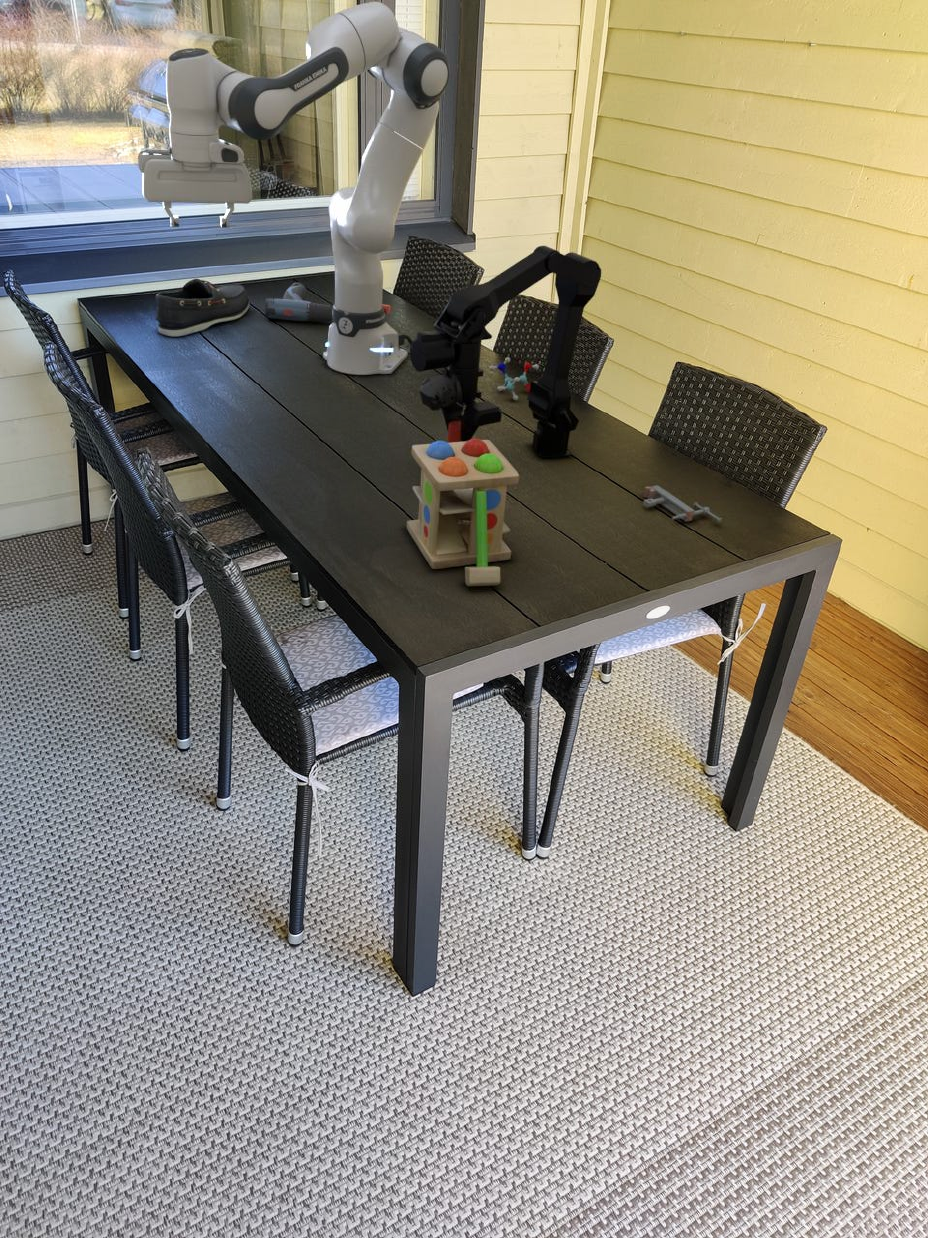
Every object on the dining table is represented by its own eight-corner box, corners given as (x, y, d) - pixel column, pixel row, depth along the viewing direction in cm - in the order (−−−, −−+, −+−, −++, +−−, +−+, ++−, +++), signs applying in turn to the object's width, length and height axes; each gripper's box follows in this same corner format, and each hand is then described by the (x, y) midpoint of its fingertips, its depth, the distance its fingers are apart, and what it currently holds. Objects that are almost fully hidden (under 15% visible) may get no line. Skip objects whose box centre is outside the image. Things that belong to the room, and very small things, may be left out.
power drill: (344, 304, 276) (335, 327, 259) (277, 298, 275) (264, 321, 258) (344, 285, 273) (335, 306, 256) (277, 279, 272) (264, 300, 255)
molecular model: (534, 392, 222) (521, 349, 221) (497, 406, 226) (483, 364, 224) (547, 391, 232) (534, 350, 231) (510, 404, 236) (497, 364, 235)
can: (464, 452, 188) (466, 430, 186) (444, 448, 189) (446, 426, 186) (469, 444, 192) (471, 422, 189) (450, 440, 192) (451, 419, 190)
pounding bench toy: (530, 586, 160) (545, 488, 150) (449, 597, 155) (458, 496, 145) (480, 519, 178) (490, 427, 168) (405, 527, 173) (411, 433, 163)
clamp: (632, 488, 188) (672, 480, 193) (630, 499, 190) (670, 490, 194) (684, 524, 178) (724, 515, 182) (681, 535, 179) (722, 525, 184)
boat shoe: (268, 313, 265) (265, 274, 259) (176, 339, 241) (172, 296, 236) (232, 304, 271) (230, 265, 265) (140, 328, 247) (135, 286, 241)
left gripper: (137, 149, 177) (145, 230, 185) (252, 153, 183) (254, 230, 191) (135, 143, 182) (143, 221, 190) (247, 147, 188) (250, 223, 196)
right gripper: (400, 352, 183) (397, 430, 192) (455, 387, 171) (449, 468, 180) (450, 345, 189) (444, 420, 197) (507, 378, 176) (498, 457, 185)
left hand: (200, 226), depth 190 cm, fingers open, 8 cm apart
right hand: (457, 441), depth 190 cm, fingers closed on can, 4 cm apart
